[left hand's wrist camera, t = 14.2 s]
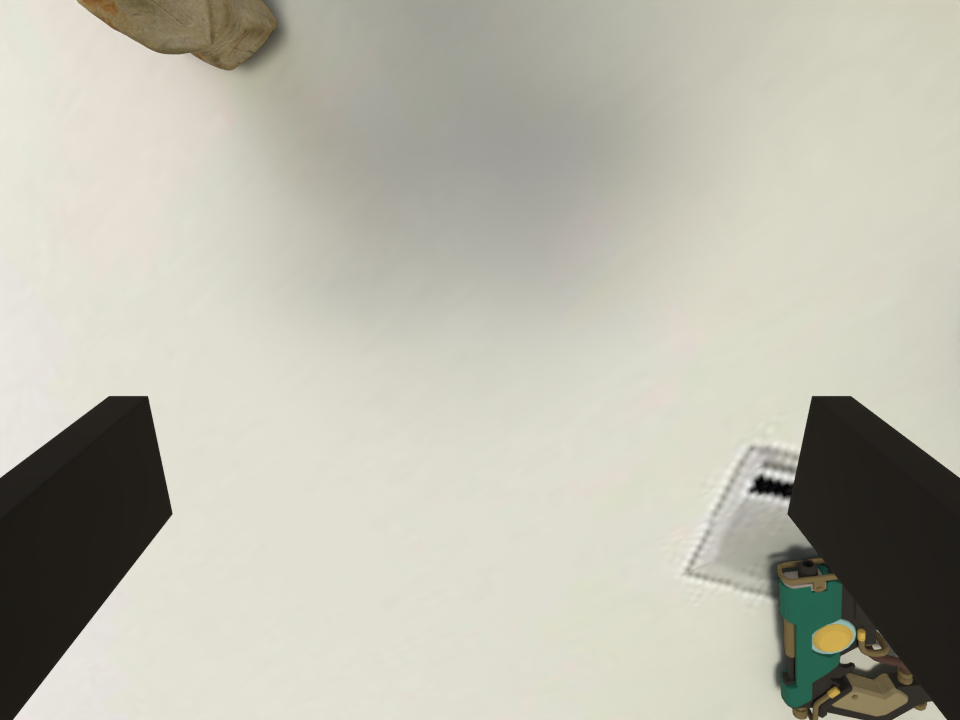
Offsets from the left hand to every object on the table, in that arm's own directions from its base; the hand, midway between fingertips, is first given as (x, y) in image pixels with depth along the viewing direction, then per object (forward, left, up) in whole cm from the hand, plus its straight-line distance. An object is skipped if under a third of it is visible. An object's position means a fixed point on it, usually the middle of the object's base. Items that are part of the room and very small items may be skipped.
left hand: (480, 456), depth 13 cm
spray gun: (+23, +36, -28) cm, 51 cm away
